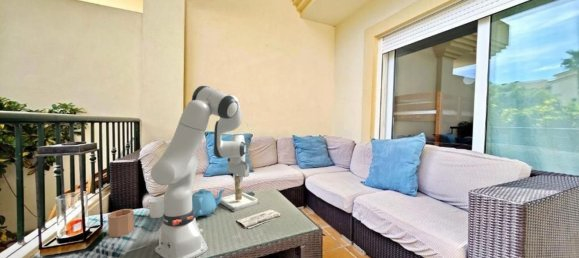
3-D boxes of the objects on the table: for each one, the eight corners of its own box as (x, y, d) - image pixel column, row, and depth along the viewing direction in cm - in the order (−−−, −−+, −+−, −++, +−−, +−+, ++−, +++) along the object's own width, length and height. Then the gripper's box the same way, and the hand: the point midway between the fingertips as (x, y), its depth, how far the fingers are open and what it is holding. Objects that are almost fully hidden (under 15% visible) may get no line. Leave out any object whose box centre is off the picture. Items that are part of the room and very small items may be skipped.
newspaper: (247, 231, 110) (246, 226, 110) (236, 224, 119) (235, 219, 119) (283, 217, 124) (283, 213, 124) (271, 212, 134) (271, 208, 134)
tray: (259, 203, 143) (259, 199, 143) (234, 211, 131) (234, 207, 131) (242, 195, 158) (242, 192, 158) (218, 202, 145) (218, 198, 145)
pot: (135, 233, 106) (134, 213, 106) (110, 241, 100) (109, 219, 99) (131, 226, 113) (130, 207, 112) (108, 233, 106) (107, 212, 106)
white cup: (168, 214, 127) (168, 197, 127) (159, 220, 119) (158, 202, 119) (155, 213, 128) (155, 196, 127) (145, 220, 120) (145, 201, 120)
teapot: (179, 215, 126) (178, 191, 125) (209, 204, 141) (209, 182, 140) (195, 224, 116) (194, 197, 115) (226, 211, 132) (226, 187, 131)
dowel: (242, 199, 144) (242, 176, 143) (237, 200, 141) (237, 177, 140) (239, 197, 147) (239, 174, 146) (234, 199, 144) (233, 176, 143)
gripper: (251, 161, 137) (251, 183, 138) (234, 157, 152) (234, 177, 153) (242, 162, 133) (243, 185, 134) (225, 158, 148) (226, 179, 148)
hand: (238, 181), depth 143 cm, fingers closed on dowel, 4 cm apart
